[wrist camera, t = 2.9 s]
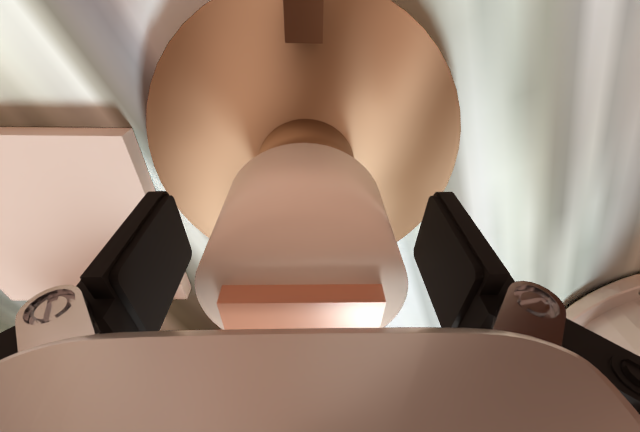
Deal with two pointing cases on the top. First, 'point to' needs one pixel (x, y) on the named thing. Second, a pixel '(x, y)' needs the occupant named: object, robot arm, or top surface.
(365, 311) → the cap
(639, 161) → the top surface
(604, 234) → the top surface
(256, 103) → the tan round plate
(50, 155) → the mat
